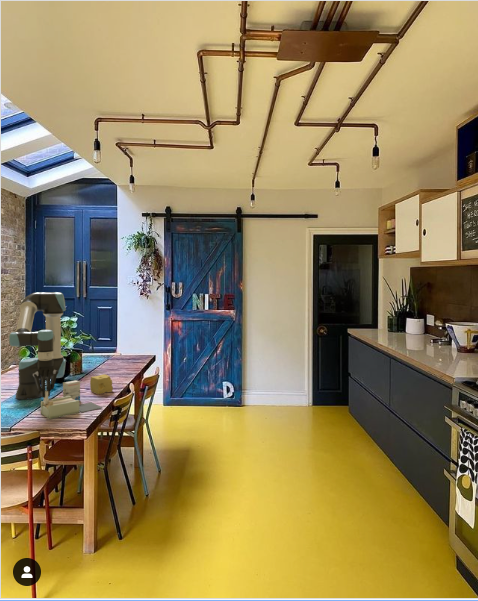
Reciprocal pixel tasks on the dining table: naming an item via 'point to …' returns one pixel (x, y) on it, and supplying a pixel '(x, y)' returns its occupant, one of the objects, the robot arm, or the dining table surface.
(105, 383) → the cheese
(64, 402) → the cover plate
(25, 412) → the dining table surface
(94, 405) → the rubber mat
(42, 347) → the robot arm
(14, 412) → the dining table surface
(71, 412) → the sage box
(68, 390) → the ink box
